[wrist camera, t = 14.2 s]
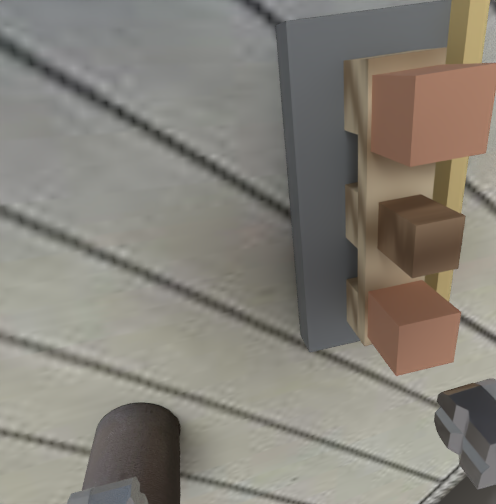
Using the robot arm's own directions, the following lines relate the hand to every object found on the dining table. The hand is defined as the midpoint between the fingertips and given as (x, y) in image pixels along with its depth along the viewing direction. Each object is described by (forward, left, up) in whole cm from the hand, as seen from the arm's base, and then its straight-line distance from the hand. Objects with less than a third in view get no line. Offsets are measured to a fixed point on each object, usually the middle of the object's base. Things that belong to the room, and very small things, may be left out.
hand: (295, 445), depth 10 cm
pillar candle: (+28, -13, -26) cm, 41 cm away
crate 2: (+12, +14, -19) cm, 27 cm away
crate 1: (-5, +14, -19) cm, 24 cm away
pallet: (+4, +14, -23) cm, 27 cm away
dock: (+4, +14, -26) cm, 30 cm away
